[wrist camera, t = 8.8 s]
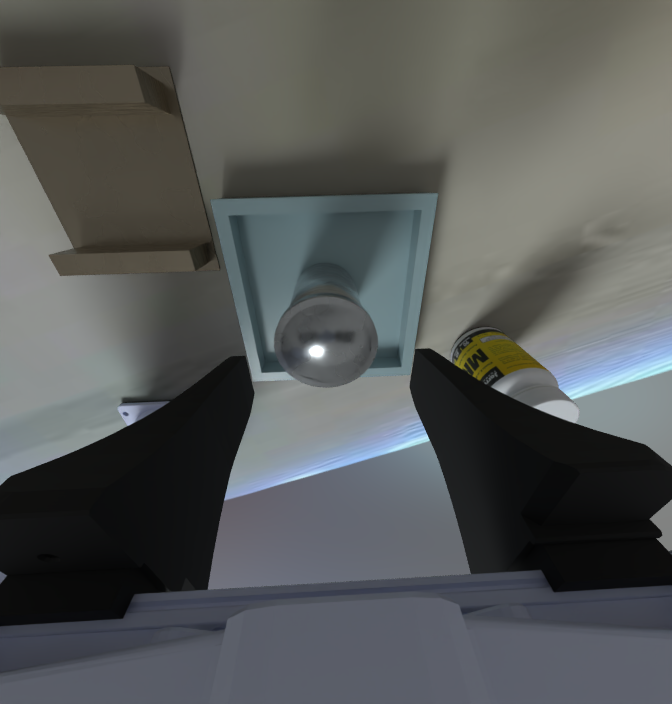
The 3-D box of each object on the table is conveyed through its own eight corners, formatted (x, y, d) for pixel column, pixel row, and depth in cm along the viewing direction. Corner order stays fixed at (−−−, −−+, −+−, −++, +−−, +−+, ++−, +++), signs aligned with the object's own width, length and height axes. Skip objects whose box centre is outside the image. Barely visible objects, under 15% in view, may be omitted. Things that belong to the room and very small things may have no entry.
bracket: (221, 268, 19) (206, 280, 16) (91, 273, 19) (57, 285, 16) (172, 69, 14) (139, 44, 11) (-9, 72, 13) (-83, 47, 11)
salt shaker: (361, 321, 21) (378, 382, 14) (296, 328, 21) (284, 391, 14) (358, 254, 18) (377, 291, 12) (284, 261, 18) (262, 303, 12)
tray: (403, 361, 23) (410, 374, 22) (258, 366, 23) (253, 381, 21) (426, 192, 17) (438, 193, 15) (221, 198, 16) (210, 199, 15)
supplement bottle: (456, 325, 22) (521, 394, 14) (513, 324, 22) (605, 392, 15) (443, 373, 24) (493, 451, 17) (494, 372, 24) (565, 449, 17)
